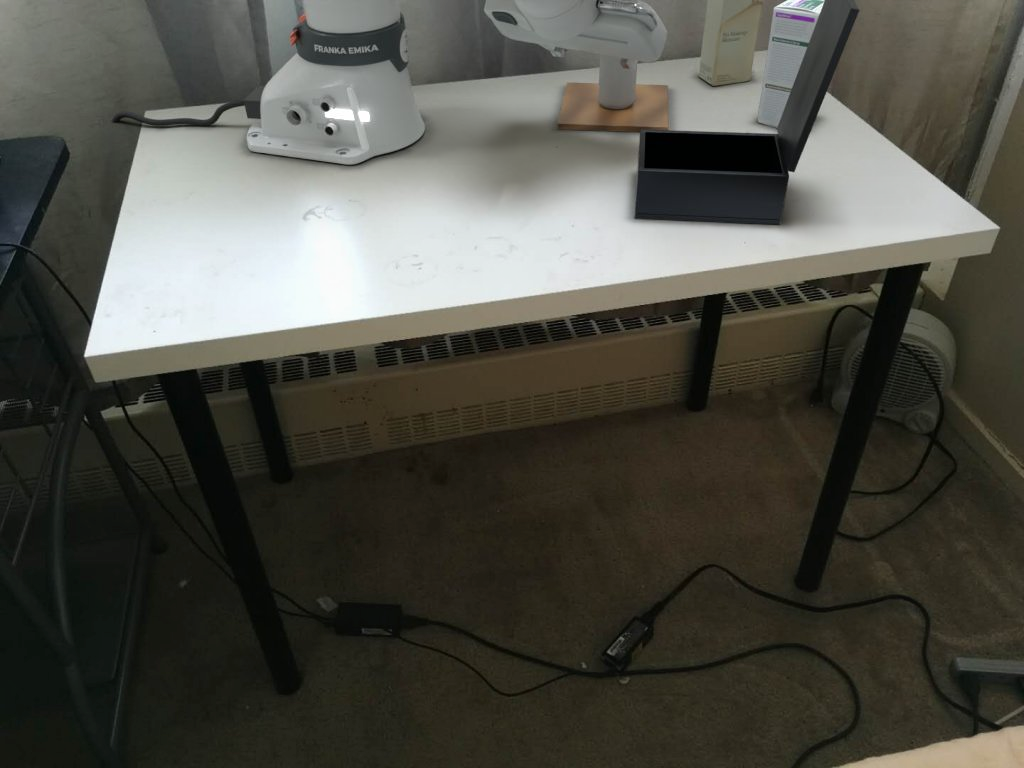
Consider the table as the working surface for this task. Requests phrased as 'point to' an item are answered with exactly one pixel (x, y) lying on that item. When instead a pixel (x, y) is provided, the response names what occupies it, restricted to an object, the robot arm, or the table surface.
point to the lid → (815, 77)
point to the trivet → (613, 110)
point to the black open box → (710, 177)
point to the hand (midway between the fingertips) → (595, 57)
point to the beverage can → (616, 83)
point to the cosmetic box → (729, 40)
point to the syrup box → (785, 54)
